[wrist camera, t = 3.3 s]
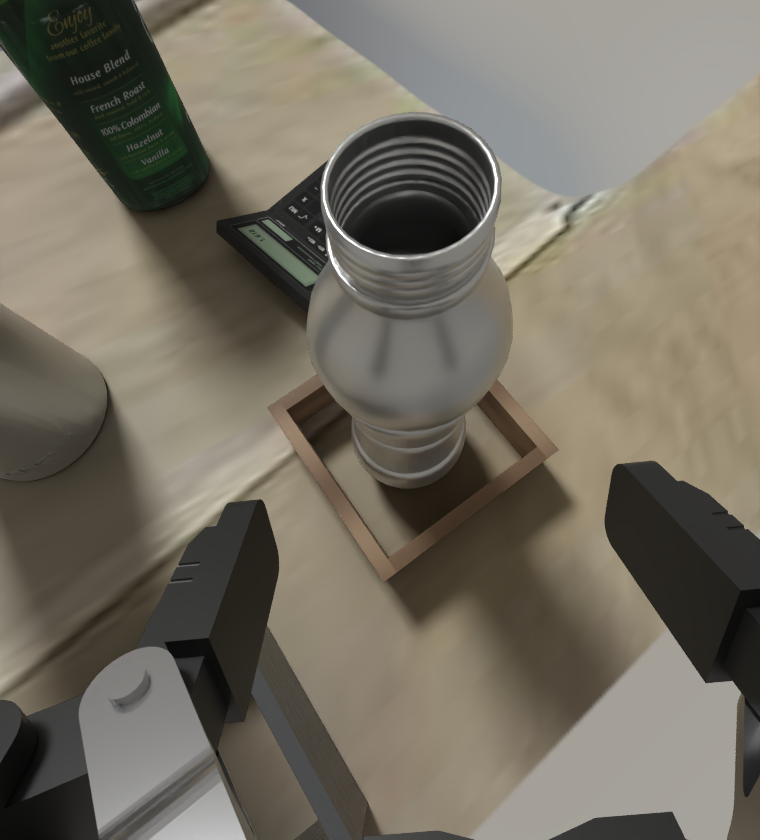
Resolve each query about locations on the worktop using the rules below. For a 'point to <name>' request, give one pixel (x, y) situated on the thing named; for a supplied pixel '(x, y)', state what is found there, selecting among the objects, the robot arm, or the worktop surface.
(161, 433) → the worktop surface
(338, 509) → the wooden square tray
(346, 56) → the worktop surface
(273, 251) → the calculator
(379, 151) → the silver metal bottle
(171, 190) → the coffee jar
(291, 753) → the gray square tray
